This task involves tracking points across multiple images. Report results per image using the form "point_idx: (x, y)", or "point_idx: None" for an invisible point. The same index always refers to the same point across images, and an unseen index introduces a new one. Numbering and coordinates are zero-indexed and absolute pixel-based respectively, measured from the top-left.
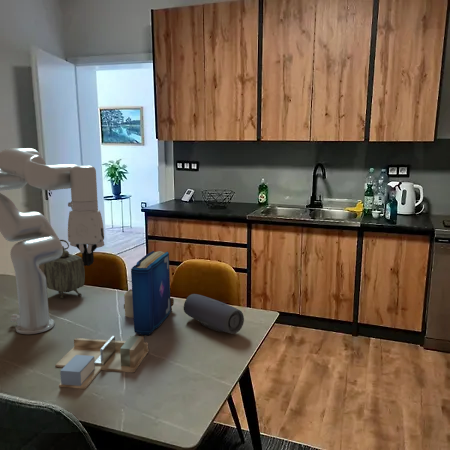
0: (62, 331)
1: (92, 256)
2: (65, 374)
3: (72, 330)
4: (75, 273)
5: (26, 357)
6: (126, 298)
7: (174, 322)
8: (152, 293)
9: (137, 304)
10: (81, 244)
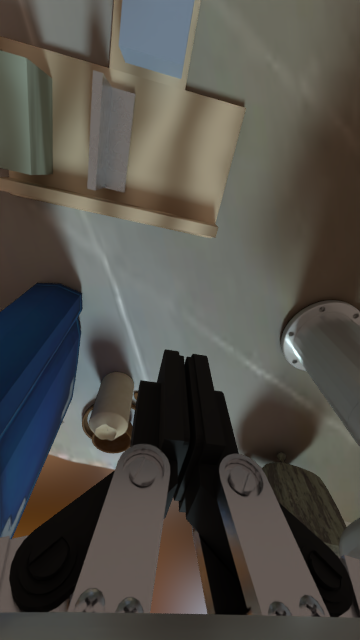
0: (258, 316)
1: (132, 434)
2: None
3: (236, 319)
4: None
5: (326, 177)
6: (119, 409)
7: None
8: None
9: (34, 323)
10: (276, 604)
